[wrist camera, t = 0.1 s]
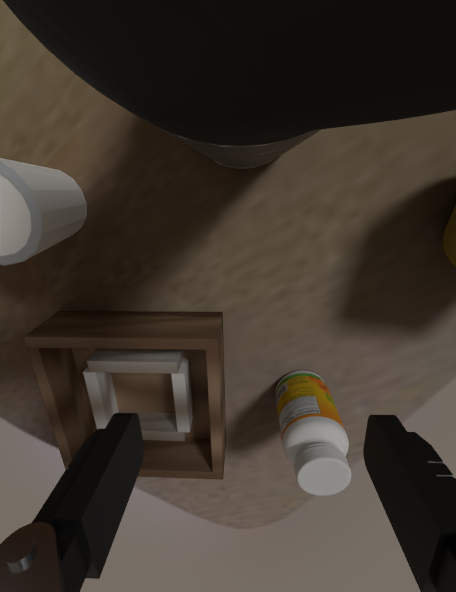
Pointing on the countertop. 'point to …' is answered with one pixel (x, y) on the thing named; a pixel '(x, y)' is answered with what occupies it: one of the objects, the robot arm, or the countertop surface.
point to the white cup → (36, 209)
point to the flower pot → (450, 238)
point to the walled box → (137, 384)
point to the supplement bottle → (312, 433)
